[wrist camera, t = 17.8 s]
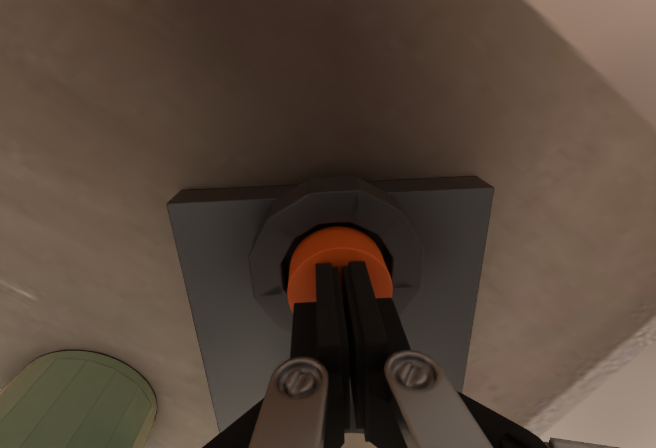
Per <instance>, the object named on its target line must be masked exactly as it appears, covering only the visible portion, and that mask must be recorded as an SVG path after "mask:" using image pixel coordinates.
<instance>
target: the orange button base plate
mask: <svg viewBox="0 0 656 448" xmlns="http://www.w3.org/2000/svg"><path fill="white" fill-rule="evenodd" d="M493 193H494V187H493V186H491V185H490V184H488V183H486V182H485V181H483V180H482V179H480V178H478V177H477V176H467V177H447V178H427V179H406V180H386V181H363V180H361V179H359V178H358V177H353V176H349V177H328V178H311V179H310V180H306V181H305V182H303V183H301V184H300V185H283V186H263V187H242V188H222V189H201V190H181V191H180V192H179V193H178V194H177V195H175V196H174V197H173V198H172V199H171V200H170V201H169V202H168V203H167V209H168V213H169V217H170V221H171V226H172V230H173V234H174V239H175V243H176V247H177V252H178V256H179V260H180V264H181V269H182V273H183V277H184V282H185V286H186V290H187V295H188V299H189V303H190V308H191V312H192V316H193V320H194V325H195V329H196V333H197V338H198V342H199V346H200V351H201V355H202V359H203V364H204V368H205V372H206V376H207V381H208V385H209V389H210V394H211V398H212V402H213V407H214V411H215V415H216V419H217V424H218V428H219V432H220V433H221V432H222V431H223V430H225V429H226V428H227V427H228V426H230V425H231V424H232V423H233V422H235V421H236V420H237V419H238V418H240V417H241V416H242V415H243V414H244V413H246V412H247V411H248V410H249V409H251V408H252V407H253V406H254V405H256V404H257V403H258V402H259V401H261V400H262V399H263V398H264V397H265V394H266V391H267V388H268V385H269V381H270V378H271V376H272V374H273V372H274V370H275V369H276V368H277V367H278V366H279V365H280V364H281V363H283V362H284V361H286V360H288V359H290V351H291V337H292V322H293V312H292V310H291V309H290V306H289V303H288V297H287V289H288V280H289V270H290V262H291V258H292V255H293V253H294V251H295V249H296V248H297V246H298V245H299V244H300V242H301V241H302V240H304V239H305V238H306V237H307V236H309V235H310V234H312V233H314V232H315V231H318V230H320V229H323V228H327V227H334V226H343V227H349V228H353V229H356V230H359V231H361V232H363V233H364V234H366V235H367V236H369V237H370V238H371V239H372V240H373V241H374V242H375V243H376V245H377V246H378V248H379V249H380V251H381V254H382V257H383V259H384V262H385V264H386V267H387V269H388V272H389V274H390V277H391V280H392V287H393V292H392V299H393V302H394V304H395V307H396V310H397V313H398V315H399V318H400V321H401V324H402V326H403V329H404V332H405V334H406V337H407V340H408V343H409V345H410V348H411V350H414V351H420V352H422V353H425V354H427V355H429V356H430V357H432V358H433V359H435V361H436V362H437V363H438V364H439V365H440V366H441V368H442V369H443V371H444V373H445V374H446V376H447V377H448V379H449V380H450V382H451V383H452V385H453V386H454V388H455V389H456V391H458V392H460V393H462V390H463V383H464V377H465V370H466V364H467V358H468V351H469V345H470V339H471V332H472V326H473V320H474V313H475V307H476V301H477V294H478V288H479V282H480V275H481V269H482V263H483V256H484V250H485V244H486V237H487V231H488V225H489V218H490V212H491V206H492V199H493ZM344 433H362V434H364V430H363V429H356V424H355V416H354V408H353V401H352V393H351V385H350V430H344Z"/></svg>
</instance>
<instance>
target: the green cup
mask: <svg viewBox="0 0 656 448" xmlns="http://www.w3.org/2000/svg"><path fill="white" fill-rule="evenodd" d="M156 413H157V403H156V398H155V395H154V393H153V391H152V389H151V387H150V386H149V384H148V383H147V382H146V380H145V379H144V378H143V377H142V376H141V375H140V374H139V373H137V372H136V371H135V370H134V369H132V368H131V367H129V366H127V365H126V364H124V363H122V362H120V361H118V360H116V359H113V358H111V357H108V356H105V355H102V354H98V353H93V352H87V351H71V350H70V351H59V352H54V353H50V354H47V355H44V356H42V357H40V358H37V359H35V360H34V361H32V362H31V363H29V364H28V365H27V366H26V367H25V368H24V369H23V370H22V371H21V372H20V373H19V374H18V375H17V376H16V377H14V378H13V379H12V380H11V381H10V382H9V383H8V384H7V385H6V386H5V387H4V388H3V389H2V390H1V391H0V448H143V446H144V444H145V442H146V439H147V437H148V435H149V433H150V430H151V428H152V426H153V422H154V420H155V417H156Z"/></svg>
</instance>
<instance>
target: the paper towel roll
mask: <svg viewBox="0 0 656 448" xmlns="http://www.w3.org/2000/svg"><path fill="white" fill-rule="evenodd" d="M344 436H345V443H344V444H343V446H342V447H341V448H377V447H376V446H374V445H373V444H372V443H370V442H365V437H364V434H362V433H344Z"/></svg>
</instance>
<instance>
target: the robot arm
mask: <svg viewBox="0 0 656 448" xmlns="http://www.w3.org/2000/svg"><path fill="white" fill-rule="evenodd" d="M315 267H316V302H303V303H294V308H293V322H292V337H291V351H290V359H288V360H286V361H284V362H283V363H281V364H280V365H279V366H278V367H277V368H276V369H275V370H274V372H273V374H272V376H271V378H270V381H269V385H268V388H267V391H266V394H265V397H264V398H263V399H262V400H261V401H259V402H258V403H257V404H256V405H254V406H253V407H252V408H251V409H249V410H248V411H247V412H246V413H244V414H243V415H242V416H241V417H240V418H238V419H237V420H236V421H235V422H233V423H232V424H231V425H230V426H228V427H227V428H226V429H225V430H223V431H222V432H221V433H220V434H218V435H217V436H216V437H215V438H214V439H212V440H211V441H210V442H209V443H207V444H206V445H205V446H204V447H202V448H341V447H342V446H343V444H344V443H345V436H344V430H350V385H351V393H352V401H353V408H354V416H355V424H356V429H363V430H364V437H365V442H370V443H372V444H373V445H374V446H376V447H377V448H618V447H611V446H604V445H597V444H591V443H584V442H577V441H570V440H563V439H557V438H550V440H549V443H548V442H543V441H542V440H541V439H540V438H539V437H537V436H536V435H534V434H533V433H531V432H530V431H529V430H527V429H525V428H523V427H521V426H520V425H518V424H516V423H514V422H512V421H511V420H509V419H507V418H505V417H503V416H501V415H500V414H498V413H496V412H494V411H492V410H491V409H489V408H487V407H485V406H483V405H482V404H480V403H478V402H476V401H474V400H473V399H471V398H469V397H467V396H465V395H464V394H462V393H460V392H458V391H456V389H455V388H454V386H453V385H452V383H451V382H450V380H449V379H448V377H447V376H446V374H445V373H444V371H443V369H442V368H441V366H440V365H439V364H438V363H437V362H436V361H435V359H433V358H432V357H430V356H429V355H427V354H425V353H422V352H420V351H414V350H411V348H410V345H409V343H408V340H407V337H406V334H405V332H404V329H403V326H402V324H401V321H400V318H399V315H398V313H397V310H396V307H395V304H394V302H393V299H392V298H391V297H388V298H375V294H374V291H373V287H372V284H371V281H370V277H369V274H368V270H367V267H366V263H365V261H352V262H348V266H343V268H342V271H343V300H342V293H341V286H340V279H339V272H338V266H337V267H332V265H331V263H315Z"/></svg>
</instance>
